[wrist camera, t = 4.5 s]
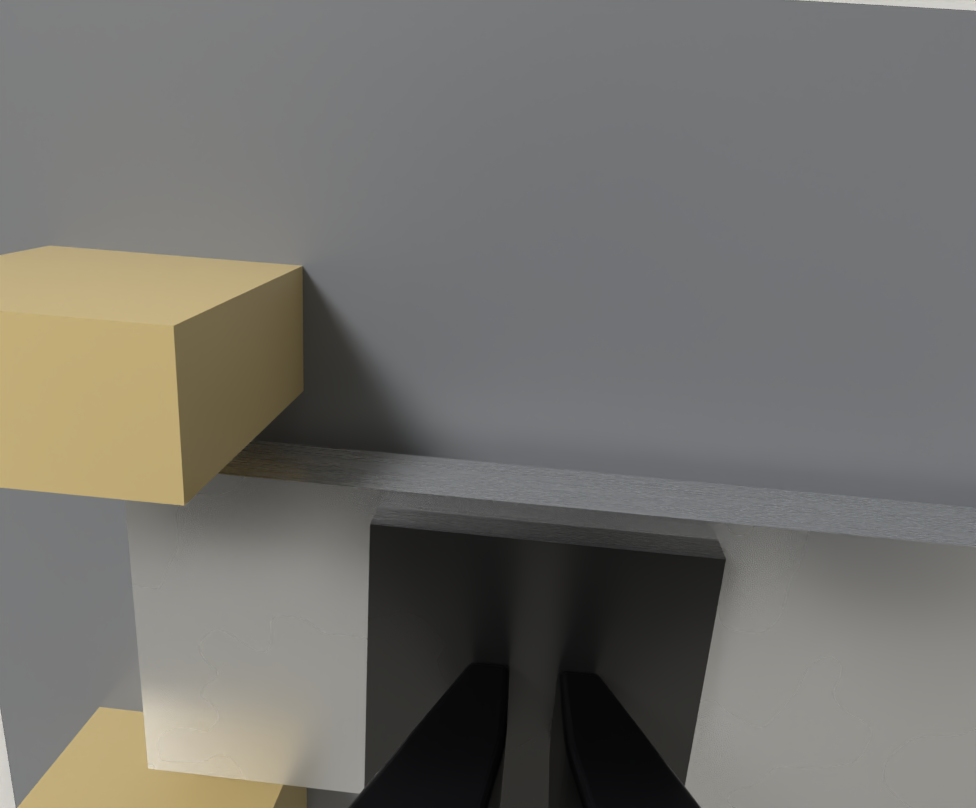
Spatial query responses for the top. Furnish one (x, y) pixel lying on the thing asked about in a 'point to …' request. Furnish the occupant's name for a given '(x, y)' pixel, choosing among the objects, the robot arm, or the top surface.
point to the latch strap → (557, 624)
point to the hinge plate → (452, 280)
